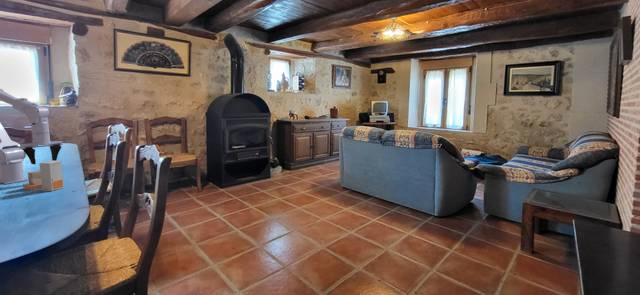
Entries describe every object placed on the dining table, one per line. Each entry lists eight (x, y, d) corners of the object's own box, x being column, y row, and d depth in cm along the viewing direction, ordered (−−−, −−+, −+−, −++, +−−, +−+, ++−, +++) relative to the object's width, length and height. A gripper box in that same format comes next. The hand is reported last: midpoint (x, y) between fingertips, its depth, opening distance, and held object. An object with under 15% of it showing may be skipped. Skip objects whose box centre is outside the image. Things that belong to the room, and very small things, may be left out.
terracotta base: (23, 188, 128) (22, 184, 128) (43, 184, 134) (43, 180, 134) (31, 191, 125) (31, 186, 125) (52, 186, 131) (51, 182, 131)
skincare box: (51, 191, 125) (48, 163, 123) (41, 191, 125) (38, 163, 124) (64, 187, 131) (61, 160, 130) (55, 187, 131) (52, 160, 130)
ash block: (29, 183, 129) (27, 172, 128) (40, 181, 132) (39, 170, 131) (33, 185, 127) (32, 173, 126) (45, 182, 131) (44, 171, 130)
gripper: (24, 134, 127) (28, 166, 129) (64, 132, 140) (67, 160, 142) (16, 133, 129) (20, 164, 131) (56, 131, 142) (59, 159, 144)
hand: (44, 162), depth 137 cm, fingers open, 7 cm apart
